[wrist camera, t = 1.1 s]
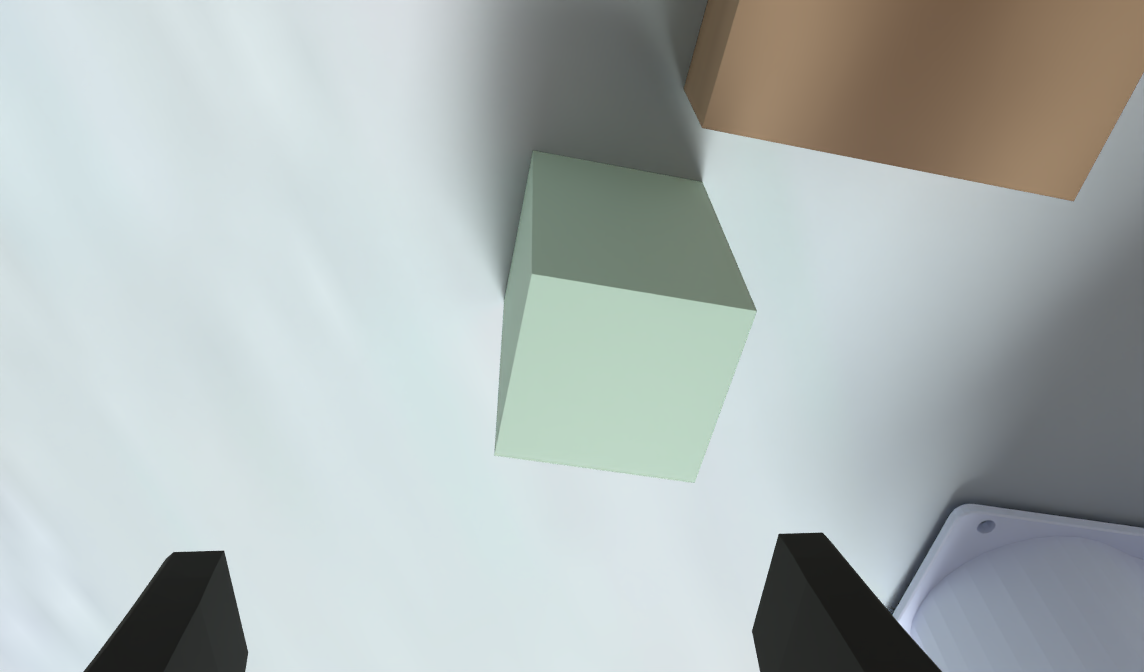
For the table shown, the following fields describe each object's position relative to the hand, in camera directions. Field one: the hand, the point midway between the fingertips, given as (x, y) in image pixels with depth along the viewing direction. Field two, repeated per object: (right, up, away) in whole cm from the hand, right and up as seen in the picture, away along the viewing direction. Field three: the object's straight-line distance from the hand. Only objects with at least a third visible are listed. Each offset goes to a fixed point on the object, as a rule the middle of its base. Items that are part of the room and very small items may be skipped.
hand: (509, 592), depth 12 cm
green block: (+2, +6, +10) cm, 11 cm away
